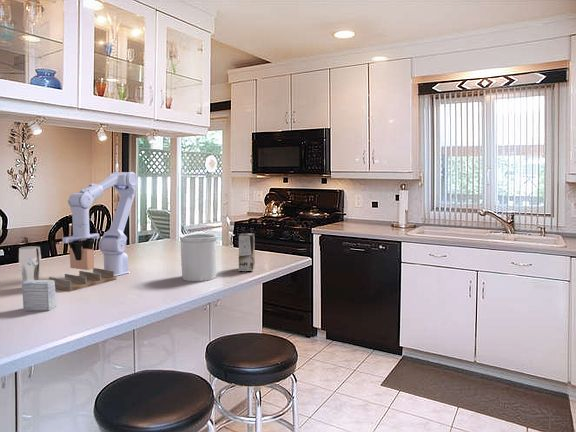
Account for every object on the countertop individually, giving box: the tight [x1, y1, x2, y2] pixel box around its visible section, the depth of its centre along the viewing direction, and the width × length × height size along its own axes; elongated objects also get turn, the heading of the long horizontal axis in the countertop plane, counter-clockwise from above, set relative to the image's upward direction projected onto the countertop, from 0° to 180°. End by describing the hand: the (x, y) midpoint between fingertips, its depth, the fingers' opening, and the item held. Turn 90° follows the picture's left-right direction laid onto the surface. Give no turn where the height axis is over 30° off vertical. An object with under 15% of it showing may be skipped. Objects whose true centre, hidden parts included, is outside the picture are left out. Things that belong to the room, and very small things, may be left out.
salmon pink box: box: [69, 247, 95, 271], centre depth 166 cm, size 10×3×8 cm, turn 62°
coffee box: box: [238, 232, 256, 272], centre depth 191 cm, size 9×6×16 cm
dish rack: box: [48, 267, 117, 292], centre depth 166 cm, size 20×13×4 cm, turn 152°
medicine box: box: [21, 279, 57, 312], centre depth 133 cm, size 8×4×9 cm, turn 92°
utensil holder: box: [179, 232, 218, 282], centre depth 176 cm, size 15×15×18 cm
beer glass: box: [18, 245, 42, 285], centre depth 158 cm, size 7×7×15 cm
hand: (82, 259), depth 165 cm, fingers closed on salmon pink box, 3 cm apart
